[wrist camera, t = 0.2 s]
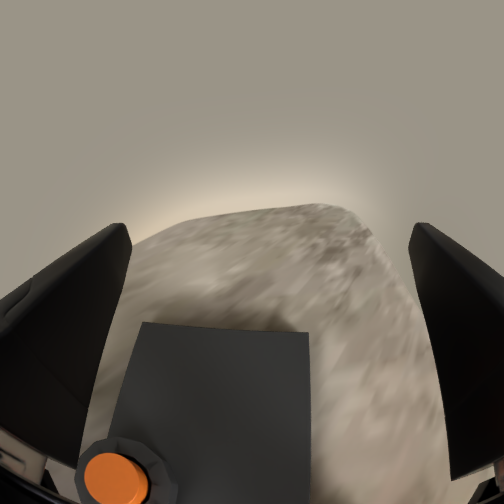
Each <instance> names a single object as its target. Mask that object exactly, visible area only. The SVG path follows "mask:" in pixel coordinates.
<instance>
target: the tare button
mask: <svg viewBox="0 0 504 504" xmlns="http://www.w3.org/2000/svg"><path fill="white" fill-rule="evenodd" d="M84 478H85V484H86V487H87V489H88V491H89V493H90V494H91V495H92V497H93V498H94V499H95V500H97V501H98V502H99V503H101V504H141V503H142V502H143V501H144V500H145V498H146V496H147V494H148V489H149V484H148V480H147V477H146V475H145V473H144V471H143V470H142V469H141V468H140V467H139V466H138V465H137V464H136V463H134V462H132V461H130V460H128V459H127V458H125V457H123V456H121V455H118V454H115V453H103V454H99V455H97V456H95V457H94V458H93V459H92V460H91V461H90V462H89V463H88V465H87V467H86V470H85V476H84Z"/></svg>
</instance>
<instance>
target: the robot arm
mask: <svg viewBox="0 0 504 504" xmlns="http://www.w3.org/2000/svg"><path fill="white" fill-rule="evenodd" d="M408 250H409V255H410V260H411V264H412V269H413V273H414V279H415V284H416V289H417V293H418V297H419V300H420V304H421V307H422V311H423V314H424V318H425V322H426V326H427V330H428V334H429V338H430V342H431V346H432V350H433V355H434V359H435V364H436V369H437V374H438V379H439V384H440V390H441V395H442V401H443V408H444V414H445V423H446V431H447V439H448V449H449V461H450V476H451V481H454V480H457V479H460V478H463V477H465V476H468V475H471V474H474V473H476V472H479V471H481V470H484V469H486V468H489V467H491V466H494V472H495V477H493V478H491V479H489V480H486V481H484V482H482V483H480V484H479V486H478V487H477V489H476V491H475V493H474V494H473V496H472V498H471V499H470V501H469V503H468V504H504V277H502V276H501V275H500V274H499V273H497V272H496V271H495V270H494V269H492V268H491V267H490V266H488V265H487V264H486V263H484V262H483V261H482V260H480V259H479V258H478V257H476V256H475V255H473V254H472V253H471V252H469V251H468V250H467V249H465V248H464V247H463V246H461V245H460V244H458V243H457V242H455V241H454V240H452V239H451V238H450V237H448V236H447V235H445V234H444V233H442V232H441V231H439V230H438V229H436V228H435V227H433V226H432V225H430V224H429V223H419V222H418V223H416V224H415V226H414V228H413V231H412V235H411V238H410V242H409V247H408ZM131 253H132V243H131V240H130V237H129V234H128V231H127V228H126V226H125V224H123V223H113V224H110V225H109V226H107V227H106V228H104V229H102V230H101V231H99V232H98V233H96V234H95V235H93V236H91V237H90V238H88V239H87V240H85V241H84V242H82V243H81V244H79V245H78V246H76V247H74V248H73V249H72V250H70V251H69V252H67V253H66V254H64V255H63V256H61V257H60V258H58V259H57V260H55V261H54V262H53V263H51V264H50V265H48V266H47V267H46V268H44V269H42V270H41V271H40V272H38V273H37V274H35V275H34V276H33V278H30V279H29V280H27V281H26V282H24V283H23V284H22V285H20V286H19V287H18V288H16V289H15V290H14V291H12V292H11V293H9V294H8V295H6V296H5V297H4V298H2V299H1V300H0V504H79V503H77V502H74V501H72V500H70V499H67V498H65V497H63V496H61V495H60V494H59V492H58V490H57V488H56V486H55V484H54V482H53V480H52V478H51V476H50V473H49V471H48V470H46V469H45V465H46V462H47V458H49V459H51V460H53V461H55V462H58V463H60V464H63V465H65V466H67V467H70V468H72V469H75V470H76V469H77V465H78V459H79V453H80V448H81V442H82V437H83V432H84V427H85V422H86V417H87V413H88V407H89V403H90V399H91V395H92V391H93V387H94V383H95V379H96V375H97V371H98V367H99V364H100V360H101V356H102V353H103V349H104V346H105V343H106V339H107V336H108V333H109V329H110V326H111V323H112V320H113V317H114V313H115V310H116V307H117V304H118V301H119V298H120V295H121V292H122V289H123V285H124V281H125V277H126V272H127V268H128V264H129V260H130V256H131Z"/></svg>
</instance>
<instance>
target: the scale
mask: <svg viewBox="0 0 504 504" xmlns="http://www.w3.org/2000/svg"><path fill="white" fill-rule="evenodd" d="M103 453H115V454H118V455H121V456H123V457H125V458H127V459H128V460H130V461H132V462H134V463H136V464H137V465H138V466H139V467H140V468H141V469H142V470H143V471H144V473H145V475H146V477H147V480H148V484H149V489H148V494H147V496H146V498H145V500H144V501H143V502H142V503H141V504H310V480H311V389H310V355H309V333H308V332H272V331H249V330H231V329H216V328H202V327H190V326H179V325H168V324H159V323H149V322H142V325H141V328H140V331H139V334H138V337H137V340H136V343H135V346H134V349H133V352H132V355H131V358H130V361H129V364H128V367H127V371H126V374H125V377H124V380H123V384H122V387H121V390H120V394H119V397H118V400H117V404H116V407H115V411H114V415H113V418H112V422H111V426H110V429H109V433H108V437H107V439H104V440H100V441H96V442H94V443H93V444H92V445H91V446H90V447H89V448H88V449H87V450H86V451H85V452H84V453H83V454H82V455H81V456H80V458H79V461H78V465H77V470H76V474H75V479H74V480H75V484H76V488H77V491H78V494H79V498H80V501H81V503H82V504H101V503H99V502H98V501H97V500H95V499H94V498H93V497H92V495H91V494H90V493H89V491H88V489H87V487H86V484H85V478H84V476H85V470H86V467H87V465H88V463H89V462H90V461H91V460H92V459H93V458H94V457H95V456H97V455H99V454H103Z"/></svg>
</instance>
